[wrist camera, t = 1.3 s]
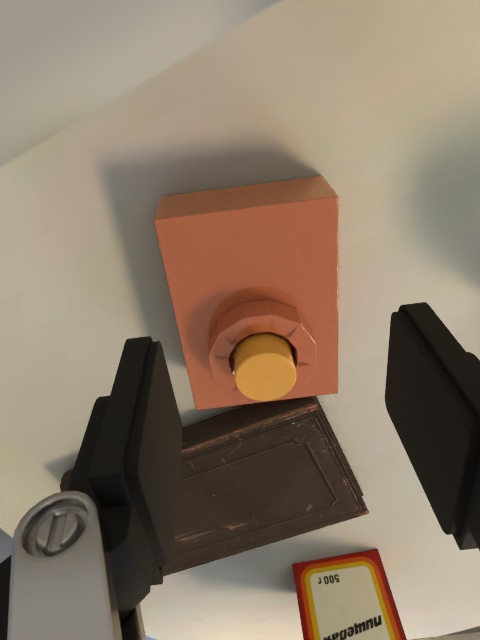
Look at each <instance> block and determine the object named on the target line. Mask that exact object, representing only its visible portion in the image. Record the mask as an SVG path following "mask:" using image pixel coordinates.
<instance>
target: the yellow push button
mask: <svg viewBox="0 0 480 640" xmlns="http://www.w3.org/2000/svg"><path fill="white" fill-rule="evenodd" d="M233 359H234V375H235V384H236V386H237V388H238V390H239V391H240V392H241V393H242V394H243V395H245V396H246V397H248V398H250V399H253V400H257V401H270V400H275V399H278V398H280V397H282V396H284V395H285V394H287V393H288V392H289V391H290V390H291V389H292V387H293V386H294V384H295V381H296V377H297V372H296V368H295V363H294V359H293V355H292V351H291V348H290V346H289V345H288V343H287V342H286V341H285V340H283V339H282V338H280V337H279V336H276V335H273V334H267V333H262V334H256V335H252V336H250V337H248V338H246V339H245V340H243V341H242V342H241V343H240V344H239V345H238V347H237V348H236V350H235V352H234V358H233Z"/></svg>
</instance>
